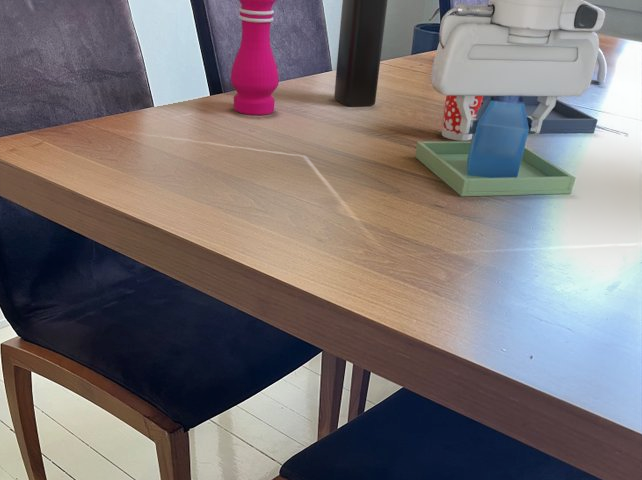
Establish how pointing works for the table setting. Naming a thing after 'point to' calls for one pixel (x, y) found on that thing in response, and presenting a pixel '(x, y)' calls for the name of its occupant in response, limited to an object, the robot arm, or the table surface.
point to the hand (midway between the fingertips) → (499, 132)
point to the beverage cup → (457, 118)
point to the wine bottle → (359, 51)
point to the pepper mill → (255, 60)
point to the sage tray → (531, 178)
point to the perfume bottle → (498, 138)
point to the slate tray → (560, 117)
